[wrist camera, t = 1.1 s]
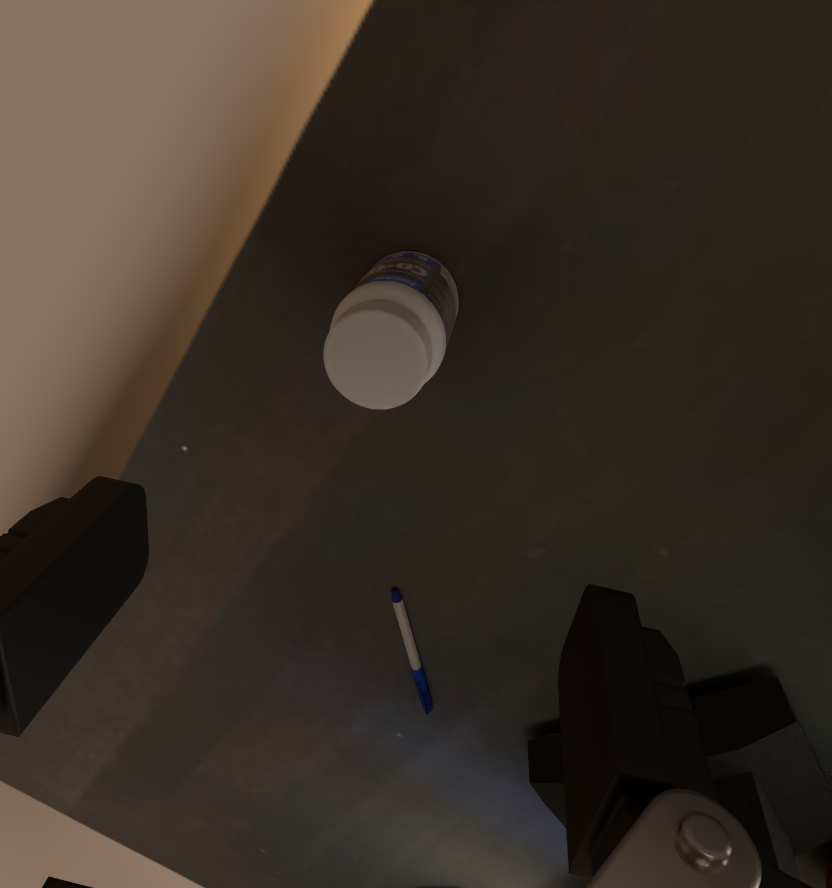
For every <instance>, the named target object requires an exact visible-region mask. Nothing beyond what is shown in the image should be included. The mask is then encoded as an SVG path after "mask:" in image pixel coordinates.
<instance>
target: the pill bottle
mask: <svg viewBox="0 0 832 888" xmlns="http://www.w3.org/2000/svg"><path fill="white" fill-rule="evenodd" d="M458 306H459V298H458V292H457V287H456V285H455V282H454V280H453V278H452V276H451V274H450V273H449V271H448V270H447V269H446V268H445V267H444V266H443V265H442V264H441V263H440V262H438V261H437V260H436V259H434V258H432V257H430V256H428V255H426V254H423V253H420V252H414V251H404V252H398V253H394V254H391V255H388V256H386V257H384V258H383V259H381V260H380V261H378V262H377V263H376V264H375V265H374V266H373V267H372V268H371V269H370V270H369V271H368V272H367V274H366V275H365V276H364V277H363V278H362V279H361V280H360V281H359V282H358V284H357V285H356V286H355V287H354V288H353V289H352V290H351V291H350V292H349V293H348V294H347V295H346V296H345V297H344V298H343V300H342V301H341V302H340V304H339V306H338V307H337V309H336V311H335V313H334V316H333V319H332V323H331V328H330V332H329V334H328V335H327V338H326V341H325V345H324V354H323V357H324V364H325V369H326V372H327V374H328V377H329V379H330V380H331V382H332V384H333V385H334V386H335V388H336V389H337V390H338V391H339V392H340V393H341V394H342V395H343V396H344V397H346V398H347V399H349V400H350V401H352V402H353V403H355V404H358V405H360V406H363V407H366V408H370V409H389V408H394V407H397V406H400V405H402V404H404V403H406V402H408V401H409V400H410V399H412V398H413V397H414V396H415V395H416V394H417V393H418V392H419V390H420V389H421V387H422V386H423V384H425V383H426V382H427V381H428V380H429V379H430V378H431V377H432V376H433V375H434V374H435V373H436V371H437V370H438V368H439V366H440V365H441V362H442V360H443V357H444V354H445V351H446V348H447V345H448V342H449V339H450V336H451V333H452V331H453V327H454V324H455V321H456V317H457V313H458Z"/></svg>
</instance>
